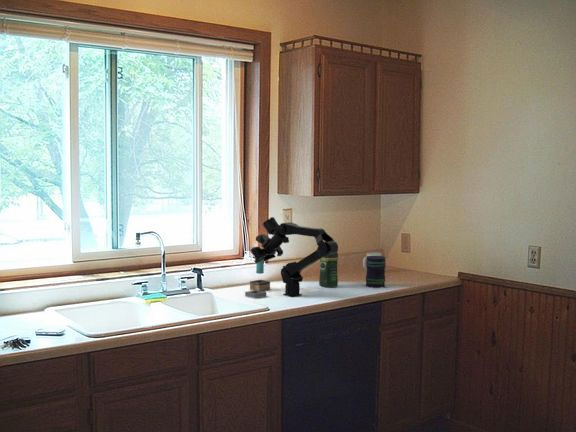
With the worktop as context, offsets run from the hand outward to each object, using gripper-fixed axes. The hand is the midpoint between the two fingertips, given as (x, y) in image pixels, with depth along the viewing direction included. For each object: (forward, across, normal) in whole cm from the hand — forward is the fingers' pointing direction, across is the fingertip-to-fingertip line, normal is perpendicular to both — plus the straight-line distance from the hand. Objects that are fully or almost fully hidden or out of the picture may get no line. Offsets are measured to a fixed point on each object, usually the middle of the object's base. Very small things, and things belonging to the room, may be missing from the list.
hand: (257, 262), depth 318 cm
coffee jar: (-5, -30, +25) cm, 39 cm away
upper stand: (+8, 0, +10) cm, 14 cm away
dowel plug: (+3, 0, +5) cm, 5 cm away
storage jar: (-18, -47, +37) cm, 62 cm away
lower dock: (+2, +14, +17) cm, 22 cm away
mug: (-1, -83, +20) cm, 85 cm away
